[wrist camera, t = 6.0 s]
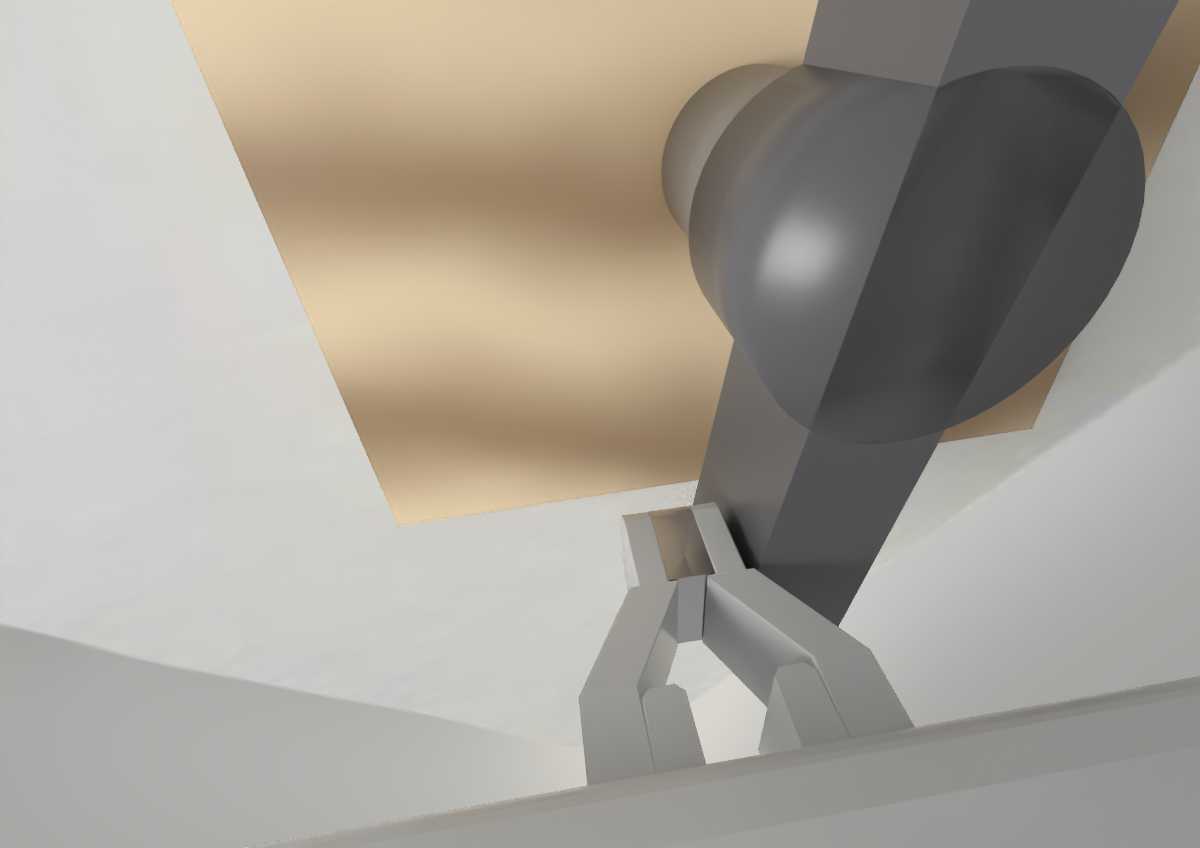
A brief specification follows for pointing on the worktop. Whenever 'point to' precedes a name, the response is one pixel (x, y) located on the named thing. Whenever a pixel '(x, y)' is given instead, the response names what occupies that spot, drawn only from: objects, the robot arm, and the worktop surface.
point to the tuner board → (518, 224)
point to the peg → (897, 249)
